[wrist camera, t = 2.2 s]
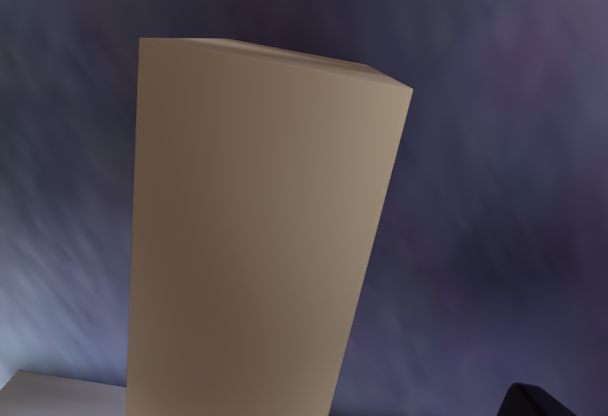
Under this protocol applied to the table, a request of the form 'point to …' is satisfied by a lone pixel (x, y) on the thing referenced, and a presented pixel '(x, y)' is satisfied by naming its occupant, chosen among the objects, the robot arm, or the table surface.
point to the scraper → (242, 232)
